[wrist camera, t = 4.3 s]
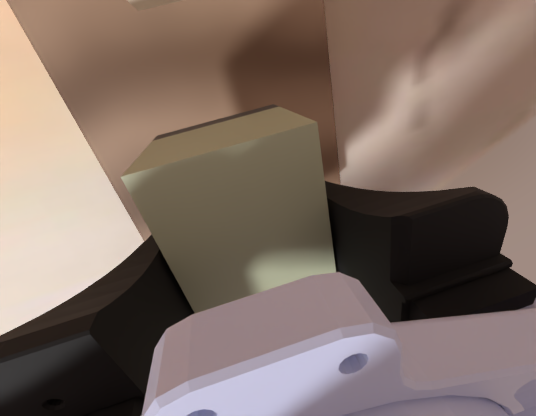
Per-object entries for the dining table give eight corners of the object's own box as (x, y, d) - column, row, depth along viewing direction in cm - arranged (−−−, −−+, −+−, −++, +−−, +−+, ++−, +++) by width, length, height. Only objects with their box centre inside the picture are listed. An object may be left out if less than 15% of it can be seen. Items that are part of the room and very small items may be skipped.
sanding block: (302, 249, 15) (342, 322, 10) (217, 276, 14) (222, 363, 10) (273, 103, 11) (317, 121, 7) (156, 135, 11) (120, 177, 6)
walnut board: (331, 179, 20) (340, 186, 18) (150, 233, 19) (146, 245, 17) (290, -201, 11) (301, -238, 10) (-54, -140, 10) (-93, -173, 9)
